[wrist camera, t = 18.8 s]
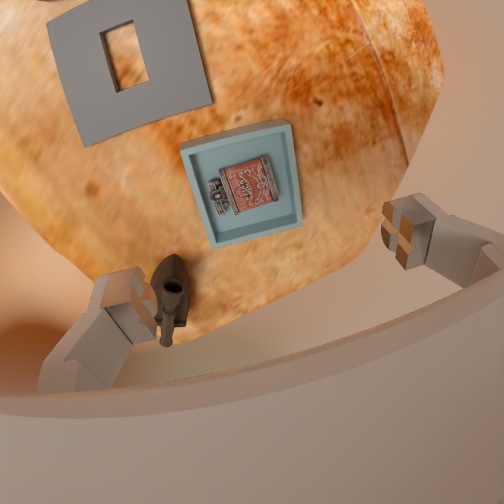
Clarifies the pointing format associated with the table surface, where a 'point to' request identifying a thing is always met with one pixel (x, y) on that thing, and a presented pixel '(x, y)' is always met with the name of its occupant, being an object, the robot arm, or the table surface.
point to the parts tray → (235, 152)
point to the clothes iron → (171, 296)
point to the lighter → (244, 186)
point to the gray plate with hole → (102, 75)
